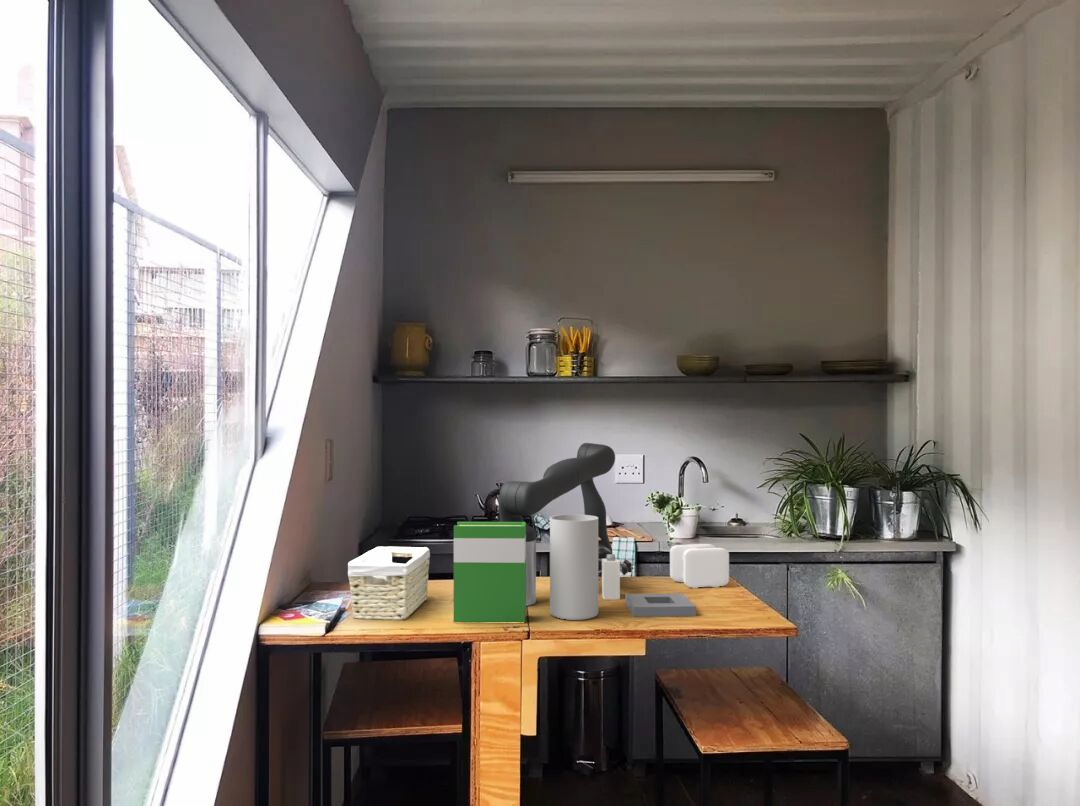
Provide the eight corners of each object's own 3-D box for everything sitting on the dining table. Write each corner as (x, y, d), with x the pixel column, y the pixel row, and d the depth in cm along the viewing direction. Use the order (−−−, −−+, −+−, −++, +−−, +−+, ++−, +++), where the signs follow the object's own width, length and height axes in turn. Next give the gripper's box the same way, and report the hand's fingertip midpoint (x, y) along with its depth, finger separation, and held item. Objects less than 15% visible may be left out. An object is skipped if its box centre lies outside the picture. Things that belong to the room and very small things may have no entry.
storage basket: (407, 622, 190) (407, 563, 190) (344, 620, 191) (344, 561, 192) (432, 599, 213) (432, 546, 214) (376, 597, 215) (376, 545, 215)
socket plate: (633, 616, 194) (633, 607, 195) (625, 603, 208) (625, 594, 208) (695, 616, 195) (695, 606, 195) (683, 602, 209) (683, 593, 209)
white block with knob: (603, 599, 213) (603, 556, 213) (601, 595, 217) (601, 553, 218) (619, 599, 213) (619, 556, 213) (617, 595, 218) (617, 553, 218)
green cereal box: (453, 622, 189) (453, 526, 189) (457, 615, 196) (457, 521, 197) (524, 623, 189) (524, 526, 189) (525, 615, 196) (525, 522, 196)
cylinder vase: (544, 619, 192) (544, 520, 193) (556, 607, 204) (556, 513, 205) (593, 622, 189) (593, 521, 189) (602, 610, 201) (602, 515, 202)
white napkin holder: (682, 589, 225) (682, 550, 225) (669, 582, 235) (669, 544, 235) (729, 587, 228) (729, 548, 228) (714, 579, 238) (714, 542, 238)
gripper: (579, 548, 233) (584, 558, 217) (625, 548, 233) (634, 558, 217) (579, 573, 233) (585, 584, 216) (625, 572, 233) (634, 584, 217)
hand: (609, 571), depth 217 cm, fingers open, 8 cm apart
